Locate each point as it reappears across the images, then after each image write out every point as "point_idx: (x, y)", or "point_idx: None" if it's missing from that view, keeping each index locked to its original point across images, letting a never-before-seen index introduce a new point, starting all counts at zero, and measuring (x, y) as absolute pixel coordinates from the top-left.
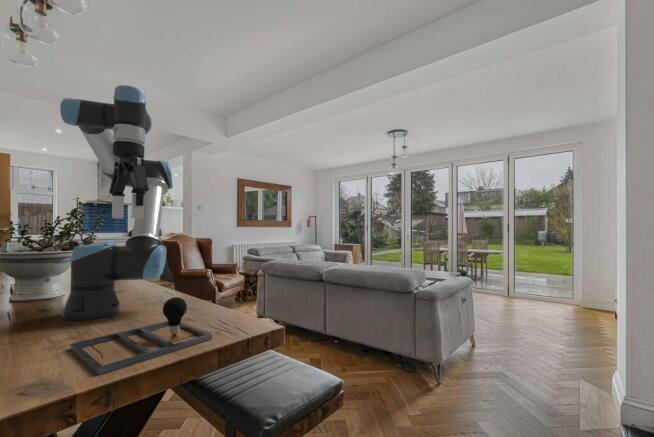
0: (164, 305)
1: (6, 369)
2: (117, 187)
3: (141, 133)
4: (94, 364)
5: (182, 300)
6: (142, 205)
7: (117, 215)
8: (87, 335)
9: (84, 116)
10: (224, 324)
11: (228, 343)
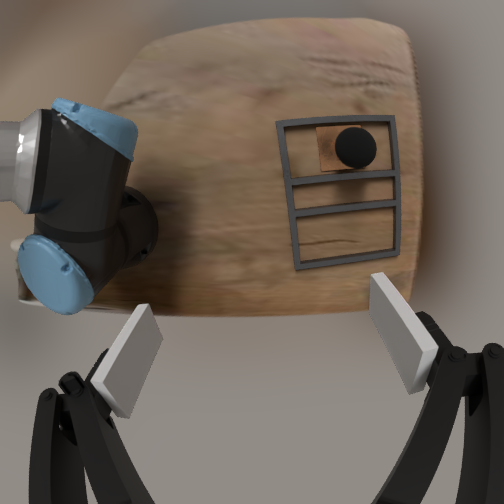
0: (357, 167)
1: (313, 314)
2: (124, 454)
3: None
4: (386, 256)
5: (370, 138)
6: (423, 314)
7: (153, 332)
8: (246, 244)
9: None
10: (341, 66)
11: (418, 111)
